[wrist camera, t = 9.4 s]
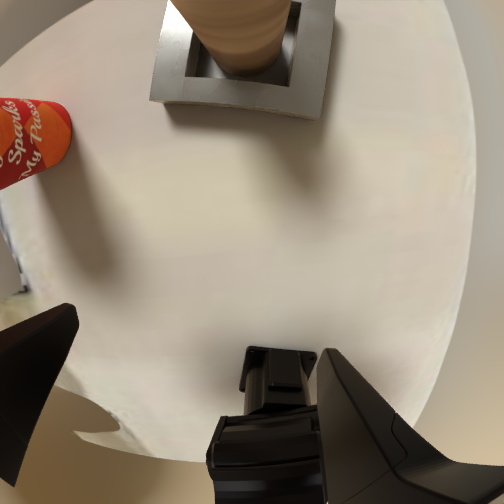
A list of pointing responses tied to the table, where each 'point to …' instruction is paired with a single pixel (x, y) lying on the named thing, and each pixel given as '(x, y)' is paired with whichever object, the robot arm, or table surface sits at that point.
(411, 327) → the table surface
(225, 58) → the walnut peg
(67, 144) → the paper cup
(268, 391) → the robot arm
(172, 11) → the grey square socket base
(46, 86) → the table surface
